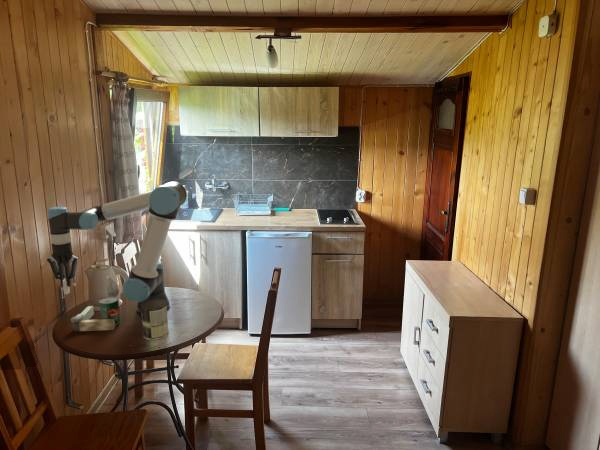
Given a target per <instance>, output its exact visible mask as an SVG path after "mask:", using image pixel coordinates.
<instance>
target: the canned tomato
mask: <svg viewBox="0 0 600 450" xmlns="http://www.w3.org/2000/svg"><path fill="white" fill-rule="evenodd" d="M98 303H99V314H100V319H114V320H115V326H117V325H119V324H120V323H121V322H122V320H121V314H120V302H119V298H118V297H117V296H106V297H103V298H101V299H99V300H98Z"/></svg>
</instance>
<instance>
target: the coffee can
mask: <svg viewBox="0 0 600 450" xmlns="http://www.w3.org/2000/svg"><path fill="white" fill-rule="evenodd" d="M166 304H167V302H166V301H165V300H163V299H151V300H147V301H144V302H143V303H141V305H140V306H141V313H140V314H141V323H142V336H143V338H144V339H145V340H148V341H157V340H158V341H159V340H162V339H164V338H165V337H167V336H168V335H169V322H168V311H167V310H168V309H167V307H166Z"/></svg>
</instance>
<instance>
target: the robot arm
mask: <svg viewBox="0 0 600 450" xmlns="http://www.w3.org/2000/svg"><path fill="white" fill-rule="evenodd" d="M187 197H188V192H187V190H186V188H185V186H184V185H183V184H182V183H179V182H178V181H169V182H166V183H164V184H160V185H158V186H155V188H153V190H151V191H147V192H144V193H140V194H137V195H133V196H129V197H125V198H122V199H118V200H114V201H110V202H107V203H102V204H99V205H93V206H92V207H89V208H87V209H85V210H82V211H75V212H74V211H68V208H67V206H54V207H50V208H48V210H47V219H48V225H49V234H50V242H51V251H52V253H51V256H49V257H47V259H46V261H47V263H48V264H49V265H50V268H51V270H52V273H53V276H54V278H55V280H60V281H59V282H60V287H63V294H64V295H68V294H70V293H71V290H70V289H71V288H70V287H71V286H72V281H71V280H72V279H73V278H75V276H76V271H77V264H78V261H79V259H80V257H79V256H75V255H74V252H72V249H73V247H72V241H71V239H72V238H71V233H70V232H71V230H80V231H82V230H83V231H88V230H95V229H96V228H97V226H98V224H99V223H100V224H101V223H104V222H106V221H109V220H113V219H118V218H121V217H124V216H128V215H129V216H130V215H133V214H135V213H140V212H145V211H147V210H148V213H149V214H150V217H149V220H148V225H147V228H146V231H145V235H144V237H143V241H142V245H141V248H140V251H139V254H138V257H137V260H136V263H135V265H133V266H132V267H130V272H129V275H128V277H127V279H126V280H125V281H124V283H123V284H122V293H123V295H124V296H125V298H127V299H128V300H129V301H131V302H133V303H136V312H137V313H139V314H141V306H140V305H141V303H143V302H144V301H147V300H151V299H163V300H165V301H166V302H167V304H166V307H167V310H168V309H169V308H170V300H169V297H168V295H167V293H166V290H165V276H164V274H165V273H164V265H163V263H162V262H160V261H159V260H160V258H161V254H162V251H163V250H164V249H163V248H164V245H165V242H166V238H167V235H168V232H169V229H170V225H171V223H172V221H174V220H176V219H177V215H178V213H179V209H180V207H181V206H183V204H184V203H186V201H187ZM70 261H71V262H70ZM70 265H71V266H70Z"/></svg>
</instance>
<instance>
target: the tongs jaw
mask: <svg viewBox="0 0 600 450" xmlns="http://www.w3.org/2000/svg"><path fill="white" fill-rule="evenodd" d="M94 311H95V310H94V305H91V306H90V305H89V306H88V305H87V306H86V307H85V308H84V309H83V310H82V312H81V313H77V315H75V316H73V317H70V322H71V324H72V323H77V322H80V321H81V320H91V319H92V317H93V316H94V315H95V312H94Z"/></svg>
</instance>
